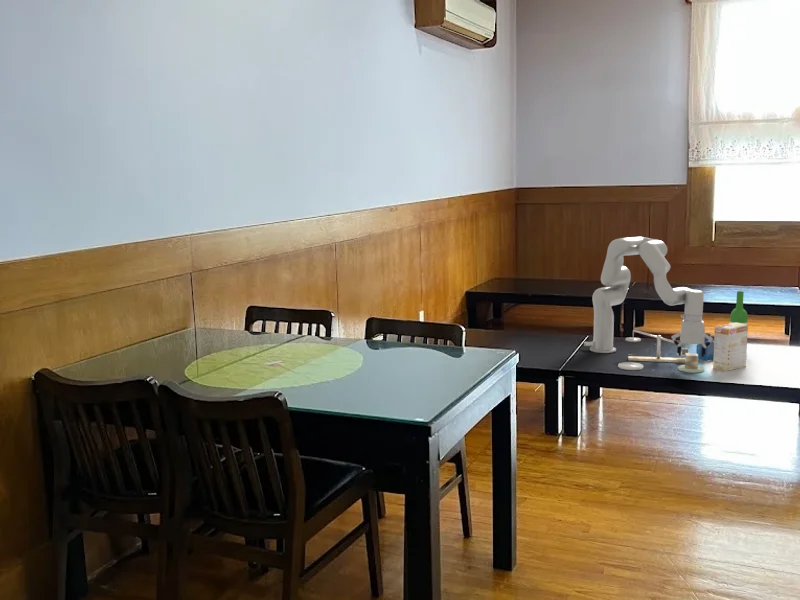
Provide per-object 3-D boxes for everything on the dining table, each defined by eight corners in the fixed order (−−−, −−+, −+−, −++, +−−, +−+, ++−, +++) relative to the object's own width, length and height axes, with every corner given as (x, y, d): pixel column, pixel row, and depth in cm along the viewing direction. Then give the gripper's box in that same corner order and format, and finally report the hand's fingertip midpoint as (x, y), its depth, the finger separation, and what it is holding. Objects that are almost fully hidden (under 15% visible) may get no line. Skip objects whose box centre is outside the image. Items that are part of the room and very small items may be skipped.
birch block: (685, 368, 355) (686, 355, 354) (684, 366, 360) (685, 353, 359) (697, 369, 354) (698, 356, 353) (696, 366, 359) (697, 353, 358)
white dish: (618, 369, 359) (618, 367, 359) (617, 363, 370) (617, 361, 370) (643, 370, 357) (644, 368, 356) (642, 364, 367) (642, 362, 367)
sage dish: (679, 372, 353) (679, 370, 353) (677, 366, 364) (677, 364, 363) (705, 373, 350) (705, 371, 350) (702, 367, 361) (702, 365, 361)
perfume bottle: (705, 356, 381) (706, 332, 379) (715, 359, 375) (717, 334, 374) (696, 358, 378) (697, 333, 376) (706, 360, 373) (707, 335, 371)
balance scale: (625, 361, 375) (625, 330, 372) (624, 357, 381) (625, 327, 379) (693, 363, 368) (694, 332, 365) (691, 360, 374) (692, 329, 372)
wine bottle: (742, 351, 391) (746, 290, 386) (748, 354, 383) (751, 292, 378) (726, 351, 392) (729, 290, 387) (731, 354, 384) (734, 292, 379)
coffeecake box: (732, 363, 367) (734, 322, 363) (746, 366, 361) (749, 324, 358) (711, 368, 359) (714, 325, 356) (725, 371, 353) (728, 328, 350)
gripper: (673, 318, 352) (671, 356, 355) (715, 320, 348) (712, 358, 351) (671, 315, 359) (669, 352, 362) (712, 317, 355) (710, 354, 358)
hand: (690, 355), depth 356 cm, fingers open, 9 cm apart
